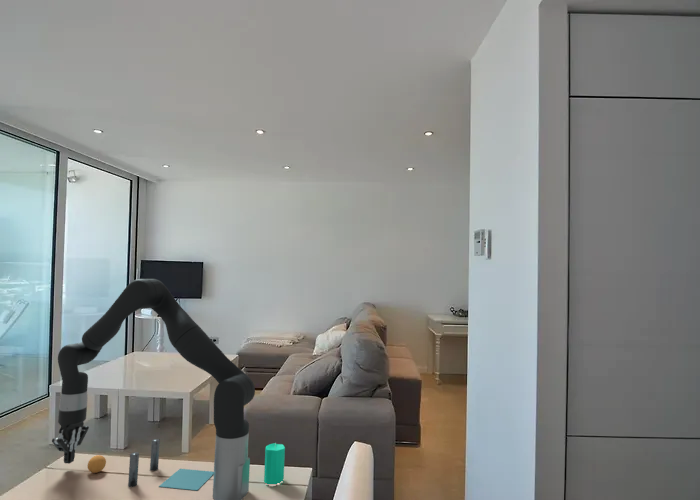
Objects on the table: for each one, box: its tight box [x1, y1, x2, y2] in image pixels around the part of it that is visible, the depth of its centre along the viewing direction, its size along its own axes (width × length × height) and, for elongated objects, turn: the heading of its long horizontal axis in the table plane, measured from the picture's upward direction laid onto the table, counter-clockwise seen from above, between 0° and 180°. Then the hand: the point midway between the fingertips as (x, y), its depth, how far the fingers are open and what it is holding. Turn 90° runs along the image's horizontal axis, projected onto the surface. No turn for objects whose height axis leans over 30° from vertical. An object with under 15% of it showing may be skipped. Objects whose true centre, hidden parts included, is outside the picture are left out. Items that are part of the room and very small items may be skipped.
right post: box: [149, 438, 161, 472], centre depth 138 cm, size 2×2×9 cm
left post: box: [127, 451, 140, 488], centre depth 127 cm, size 2×2×9 cm
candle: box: [263, 441, 286, 484], centre depth 132 cm, size 6×6×12 cm
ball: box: [87, 454, 107, 474], centre depth 134 cm, size 5×5×5 cm
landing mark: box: [158, 468, 214, 492], centre depth 131 cm, size 12×12×1 cm
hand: (68, 462), depth 135 cm, fingers closed
